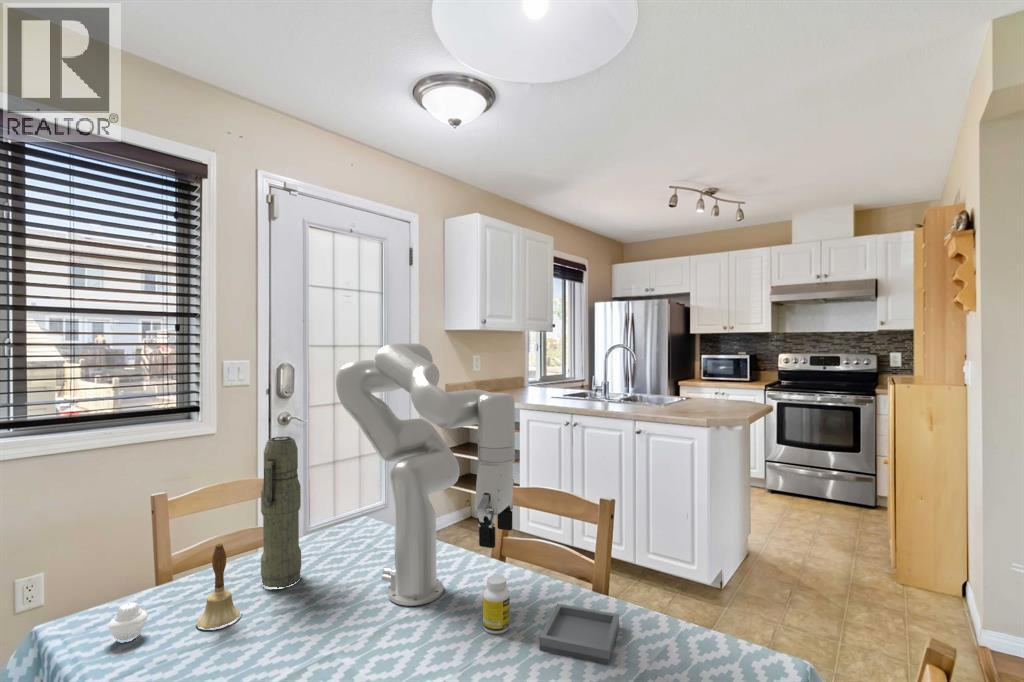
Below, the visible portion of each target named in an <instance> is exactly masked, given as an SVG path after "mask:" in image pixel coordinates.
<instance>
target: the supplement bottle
mask: <svg viewBox="0 0 1024 682" xmlns="http://www.w3.org/2000/svg"><path fill="white" fill-rule="evenodd" d="M510 595H511V594H510V590H509V589H508V587H507V577H505V576H504V575H501V574H493V575H489V576H488V577H487V579H486V588H485V589H484V590H483V597H482V599H483V600H482V617H483V618H482V626H483V630H484V631H485V632H487V633H488V634H493V635H494V634H495V635H496V634H497V635H498V634H503V633H506V632H507V631H508V630H509V629H510V623H511V622H510V620H511V619H510V615H511V613H510V612H511V611H510V610H511V608H510V606H511V603H510V602H511V601H510V600H511V597H510Z"/></svg>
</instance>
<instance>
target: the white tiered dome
mask: <svg viewBox="0 0 1024 682" xmlns="http://www.w3.org/2000/svg"><path fill="white" fill-rule="evenodd" d="M148 616H149V615H148V613H147V612H146V611H145V610H143V609H142V608H141V607H140V605H139V603H138V602H137V603H136V602H128V603H125V604H123V605H121V606H120V607H119V608H118V609H117V610H116V614H115V615H114V617H113V618H112V619H111V620H110V621H109V624H108V630H109V632H110V634H111V635H112V636H113V637H114V639H115V640H116V639H117V640H118V639H119V640H127V639H130V638H133V637H135V636H137V635H138V634H140V635H141V632H142V631H143V630H144V627H145V625H146V622H147V620H148ZM117 640H116V641H117Z"/></svg>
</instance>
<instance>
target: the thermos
mask: <svg viewBox="0 0 1024 682" xmlns="http://www.w3.org/2000/svg"><path fill="white" fill-rule="evenodd" d="M298 453H299V449H298V445H297V443H296V440H295V438H293V437H291V436H275V437H271V438H270V439H269V440H267V441H266V444H265V447H264V449H263V483H262V486H261V488H260V489H261V490H260V512H261V514H262V518H263V519H262V521H263V523H262V525H263V528H262V531H263V532H262V534H263V535H262V536H263V538H262V539H263V544H262V546H263V547H262V549H263V550H262V551H263V552H262V553H261V557H260V576H261V584H262V583H263V585H265V586H268V587H277V588H279V587H286V586H289V585H291V584H294V583H295V582H297V581H298V580H299V579H300V580H301V578H300V576H301V570H302V550H301V547H300V545H299V544H300V537H299V535H300V534H299V531H300V530H299V529H300V528H299V526H300V523H299V520H300V519H299V518H300V517H299V515H300V514H299V512H300V509H301V503H302V501H301V500H302V499H301V496H302V495H301V493H302V492H301V490H302V489H301V484H300V480H299V475H298V469H299V468H298V467H299V465H298V464H299V460H298V457H299V456H298V455H299V454H298Z"/></svg>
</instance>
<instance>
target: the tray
mask: <svg viewBox="0 0 1024 682" xmlns="http://www.w3.org/2000/svg"><path fill="white" fill-rule="evenodd" d="M619 629H620V613H619V614H618V613H613V612H607V611H601V610H596V609H591V608H585V607H581V606H580V607H578V606H573V605H569V604H568V605H567V604H563V603H557V604H556V605H555V607H554V609H553V611H552V613H551V615H550V617H548V619H547V622H546V624H545V626H544V628H543V629H542V631H541V633H540V635H539V637H538V638H539V641H538V642H539V646H538V647H539V648H538V649H539V651H540V652H546V653H552V654H555V655H560V656H564V657H565V656H566V657H570V658H574V659H579V660H584V661H588V662H594V663H597V664H603V665H607V666H610V662H611V658H612V655H613V652H614V649H615V644H616V641H617V637H618V633H619V631H620V630H619Z"/></svg>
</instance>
